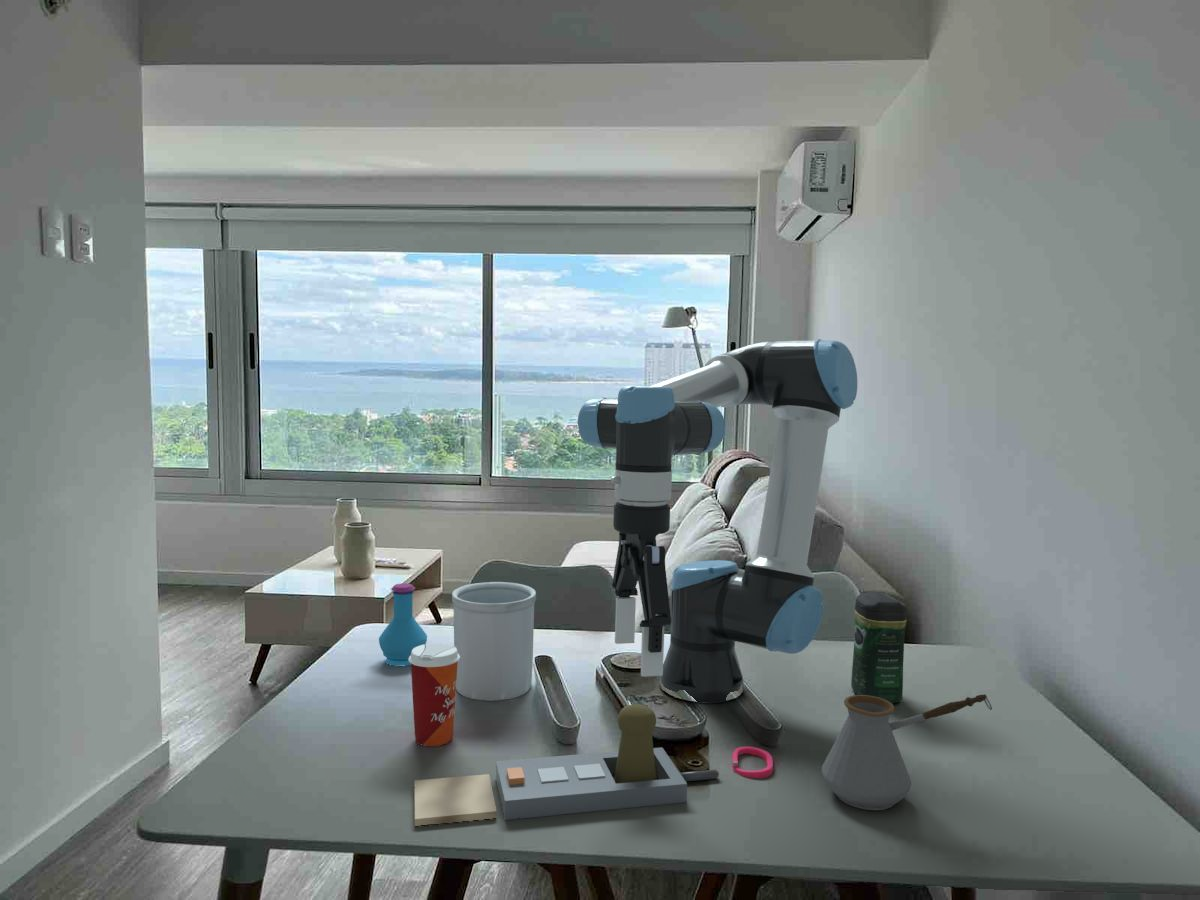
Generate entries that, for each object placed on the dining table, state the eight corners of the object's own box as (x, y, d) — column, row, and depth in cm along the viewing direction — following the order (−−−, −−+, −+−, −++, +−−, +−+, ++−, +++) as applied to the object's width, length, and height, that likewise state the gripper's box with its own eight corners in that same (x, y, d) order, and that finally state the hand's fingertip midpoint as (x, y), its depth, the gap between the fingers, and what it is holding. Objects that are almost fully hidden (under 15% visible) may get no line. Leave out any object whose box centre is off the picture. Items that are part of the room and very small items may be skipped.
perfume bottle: (436, 658, 162) (437, 584, 161) (402, 672, 154) (402, 593, 153) (403, 650, 167) (403, 577, 165) (368, 662, 159) (368, 586, 158)
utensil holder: (523, 706, 139) (524, 605, 138) (439, 699, 141) (440, 599, 140) (542, 676, 153) (544, 584, 152) (466, 670, 156) (467, 579, 154)
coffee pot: (828, 814, 105) (833, 701, 104) (814, 773, 117) (819, 670, 116) (1001, 827, 103) (1008, 712, 102) (970, 783, 115) (976, 679, 113)
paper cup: (448, 752, 121) (448, 660, 120) (399, 747, 122) (399, 655, 121) (467, 731, 129) (467, 643, 127) (421, 726, 130) (421, 639, 129)
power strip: (704, 760, 120) (705, 738, 120) (733, 797, 109) (734, 773, 109) (495, 778, 113) (496, 755, 113) (504, 820, 102) (505, 794, 102)
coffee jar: (909, 706, 142) (914, 601, 141) (864, 706, 142) (869, 601, 140) (887, 686, 152) (892, 587, 150) (845, 685, 152) (849, 587, 150)
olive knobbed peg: (631, 771, 116) (632, 696, 115) (666, 785, 112) (668, 707, 112) (604, 786, 112) (606, 708, 111) (639, 801, 108) (641, 720, 107)
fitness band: (732, 753, 124) (732, 743, 123) (771, 756, 123) (771, 747, 122) (731, 778, 116) (732, 767, 115) (773, 782, 115) (774, 772, 114)
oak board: (489, 781, 112) (489, 774, 112) (496, 818, 103) (496, 811, 103) (414, 787, 110) (414, 780, 110) (414, 826, 100) (414, 819, 100)
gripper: (594, 490, 120) (590, 632, 122) (640, 516, 96) (635, 693, 97) (643, 490, 122) (639, 630, 123) (701, 516, 98) (694, 689, 99)
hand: (637, 658), depth 110 cm, fingers open, 13 cm apart
